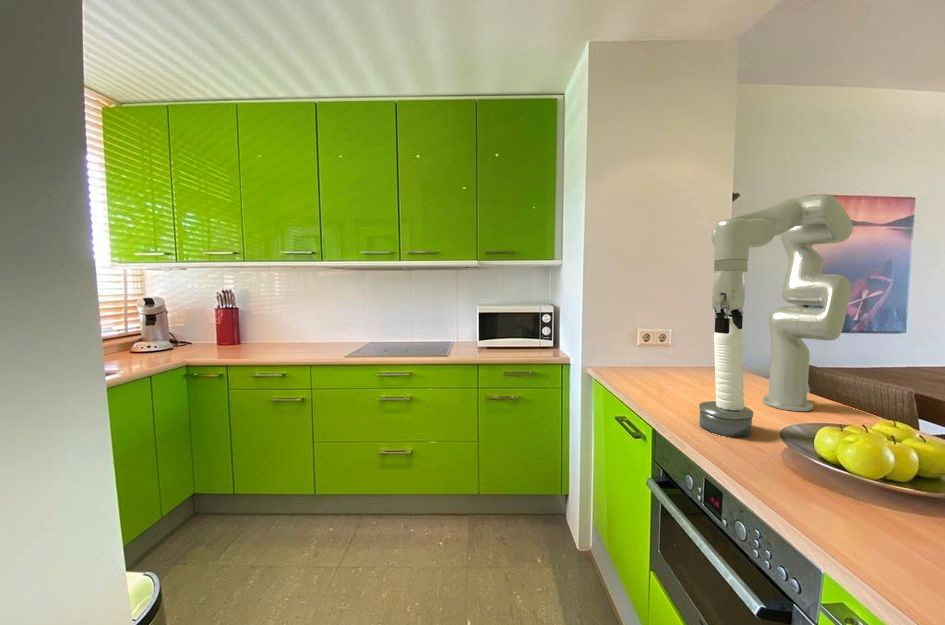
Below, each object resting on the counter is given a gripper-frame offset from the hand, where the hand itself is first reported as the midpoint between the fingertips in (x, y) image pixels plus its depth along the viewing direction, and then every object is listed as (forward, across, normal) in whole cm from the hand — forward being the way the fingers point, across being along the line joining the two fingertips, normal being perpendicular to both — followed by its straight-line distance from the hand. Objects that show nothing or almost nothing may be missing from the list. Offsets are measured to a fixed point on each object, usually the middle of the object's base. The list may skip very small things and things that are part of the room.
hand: (728, 330), depth 104 cm
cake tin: (+28, 0, 0) cm, 28 cm away
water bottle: (+22, -2, 0) cm, 22 cm away
